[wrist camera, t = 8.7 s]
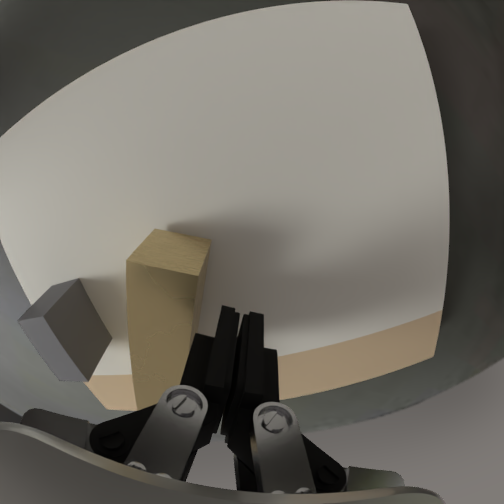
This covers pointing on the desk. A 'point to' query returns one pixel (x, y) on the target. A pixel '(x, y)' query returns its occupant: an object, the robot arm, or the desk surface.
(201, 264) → the gold bar
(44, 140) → the white cabinet door
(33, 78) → the desk surface
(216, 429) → the robot arm
